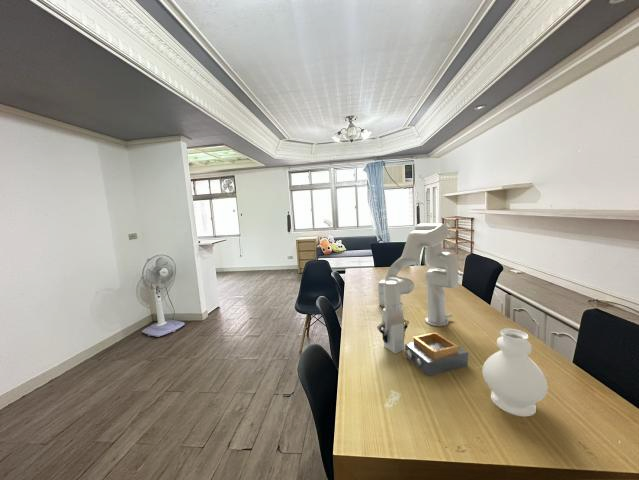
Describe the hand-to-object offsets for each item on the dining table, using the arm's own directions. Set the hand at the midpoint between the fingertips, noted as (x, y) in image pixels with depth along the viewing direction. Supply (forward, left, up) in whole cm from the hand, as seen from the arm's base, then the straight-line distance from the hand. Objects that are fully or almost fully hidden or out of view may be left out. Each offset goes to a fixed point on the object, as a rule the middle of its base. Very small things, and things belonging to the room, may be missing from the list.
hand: (393, 340), depth 130 cm
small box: (0, 0, -4) cm, 4 cm away
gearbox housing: (-11, +16, -4) cm, 20 cm away
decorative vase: (-18, +46, -4) cm, 50 cm away
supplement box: (-27, -53, -4) cm, 60 cm away
